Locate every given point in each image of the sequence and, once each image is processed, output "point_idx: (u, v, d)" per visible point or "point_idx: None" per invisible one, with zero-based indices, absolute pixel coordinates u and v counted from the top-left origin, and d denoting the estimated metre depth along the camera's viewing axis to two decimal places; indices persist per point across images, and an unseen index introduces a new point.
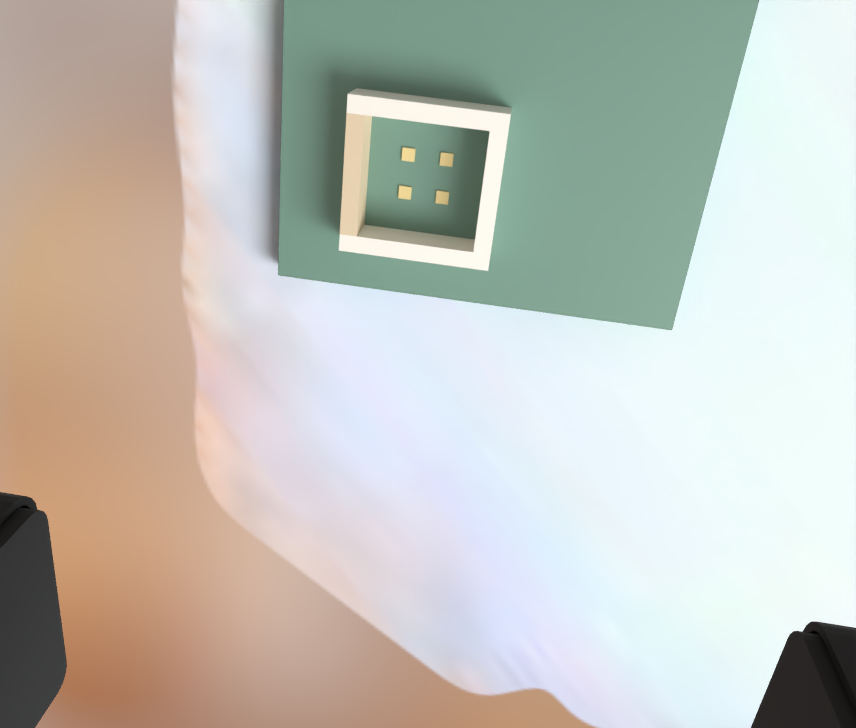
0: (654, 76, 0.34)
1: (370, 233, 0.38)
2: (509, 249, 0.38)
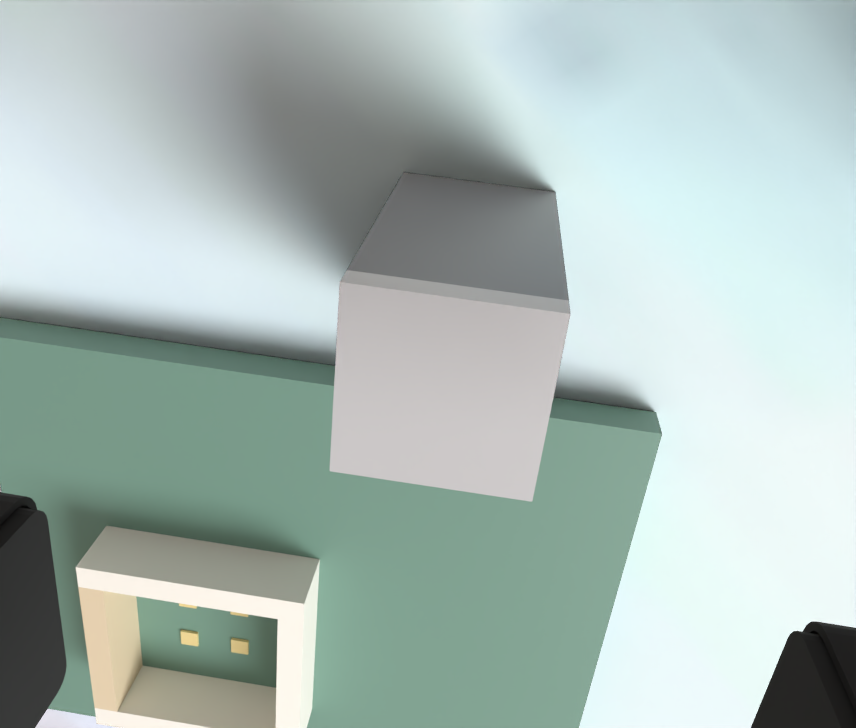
0: (512, 538, 0.24)
1: (141, 696, 0.28)
2: (336, 702, 0.28)
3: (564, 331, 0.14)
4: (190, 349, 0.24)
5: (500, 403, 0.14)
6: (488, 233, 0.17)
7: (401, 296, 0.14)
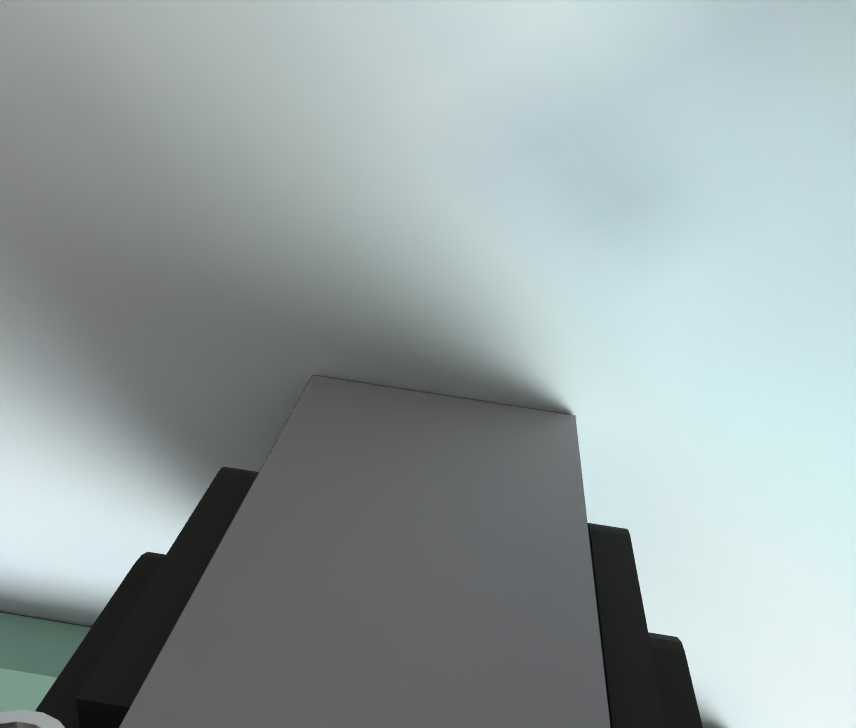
0: None
1: None
2: None
3: None
4: None
5: None
6: (444, 590, 0.08)
7: None
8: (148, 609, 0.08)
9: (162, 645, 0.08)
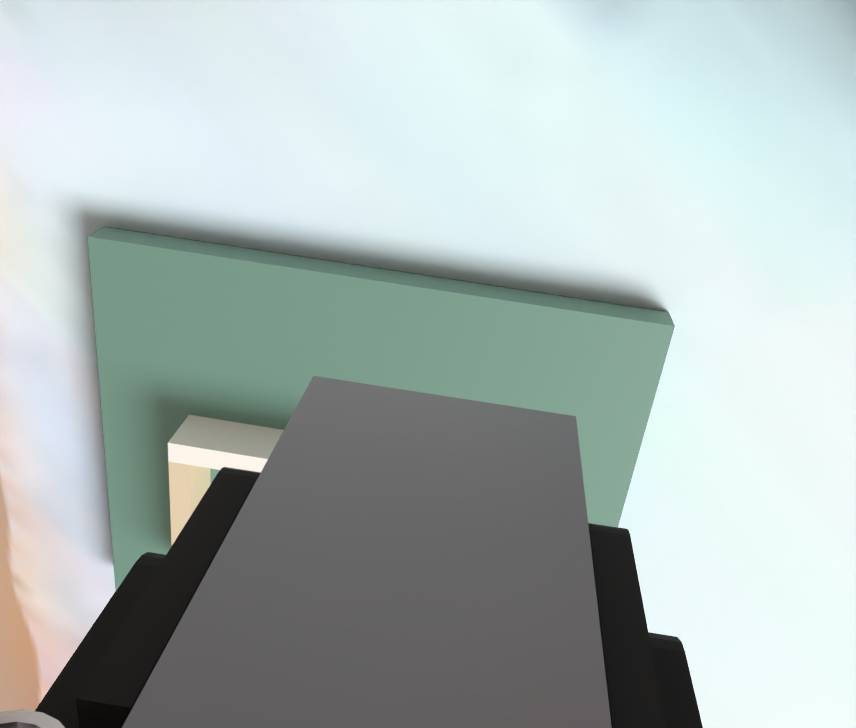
0: None
1: None
2: None
3: None
4: (271, 255, 0.28)
5: None
6: (445, 592, 0.08)
7: None
8: (148, 609, 0.08)
9: (162, 645, 0.08)
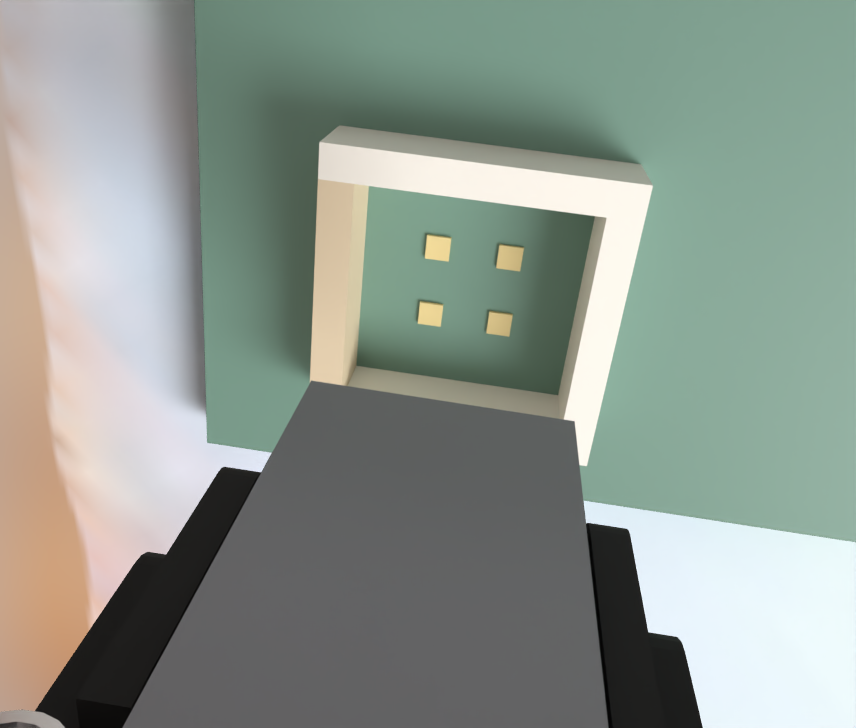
0: None
1: None
2: (618, 412, 0.21)
3: None
4: None
5: None
6: (443, 600, 0.08)
7: None
8: (148, 609, 0.08)
9: (162, 645, 0.08)
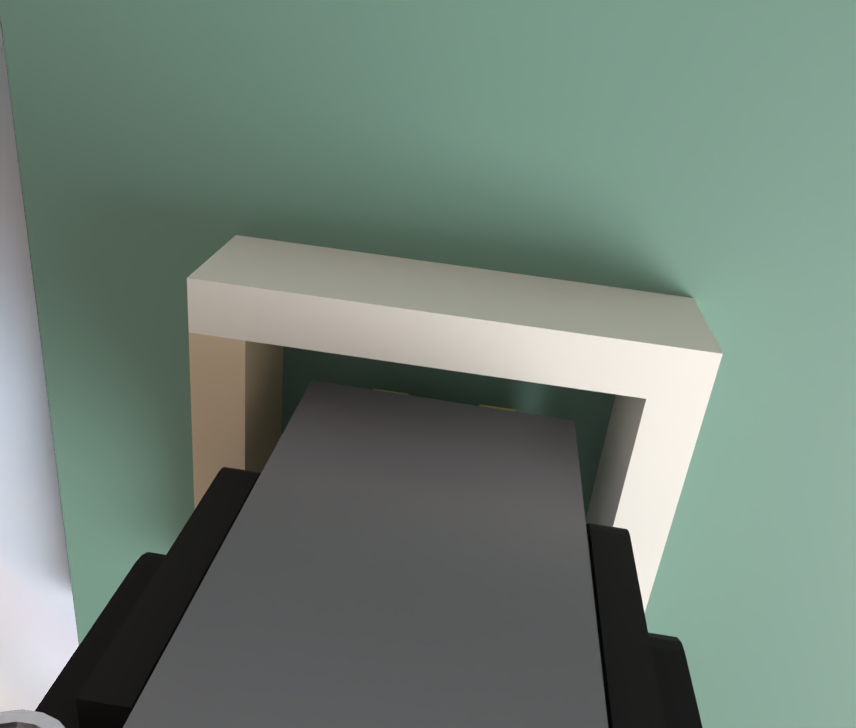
0: None
1: None
2: (652, 627, 0.15)
3: None
4: None
5: None
6: (442, 598, 0.08)
7: None
8: (148, 609, 0.08)
9: (162, 645, 0.08)
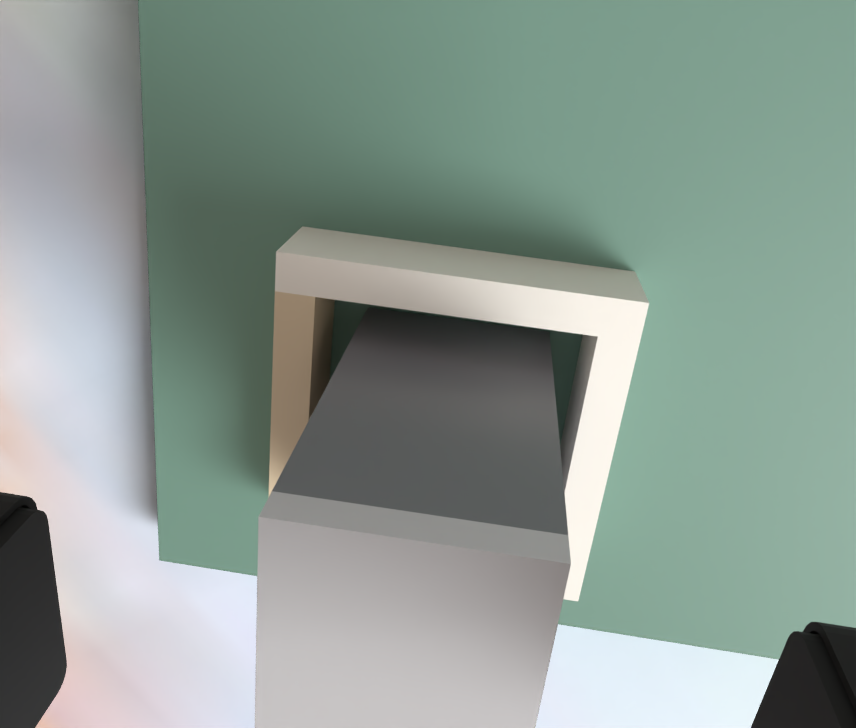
0: None
1: None
2: (613, 533, 0.19)
3: (563, 584, 0.10)
4: None
5: (478, 668, 0.11)
6: (464, 409, 0.13)
7: (343, 536, 0.10)
8: None
9: None
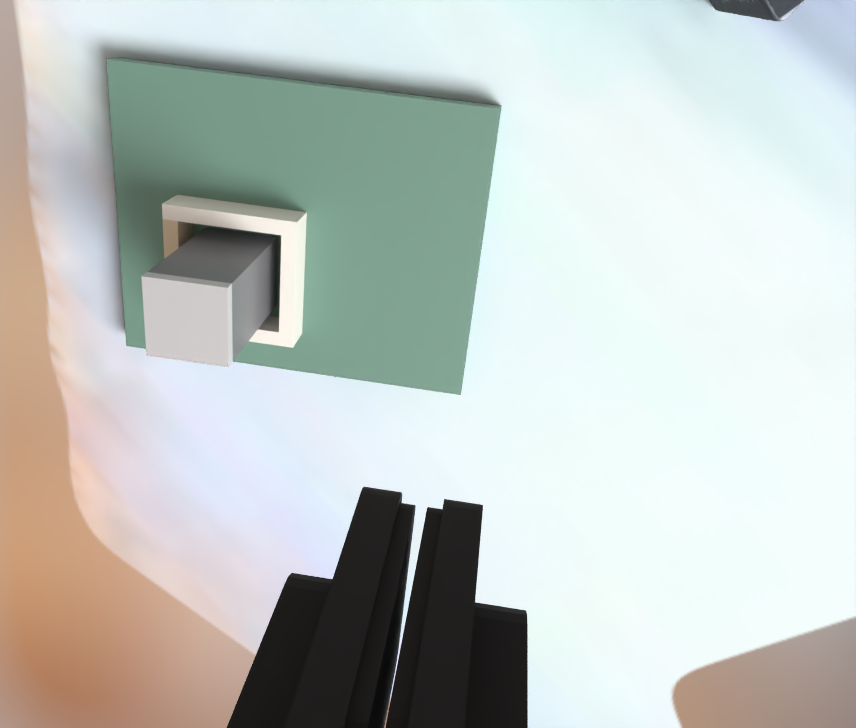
0: (420, 189, 0.41)
1: None
2: (317, 326, 0.45)
3: (226, 294, 0.36)
4: (231, 72, 0.40)
5: (208, 324, 0.37)
6: (222, 257, 0.39)
7: (165, 281, 0.36)
8: (329, 636, 0.08)
9: (353, 674, 0.08)
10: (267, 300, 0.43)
